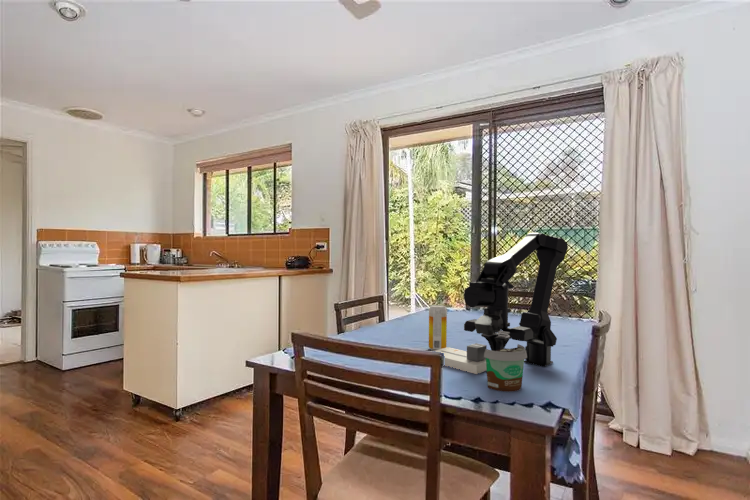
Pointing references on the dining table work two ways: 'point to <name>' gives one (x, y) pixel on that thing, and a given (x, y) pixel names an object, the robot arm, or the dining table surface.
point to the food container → (505, 368)
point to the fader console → (462, 360)
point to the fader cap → (476, 352)
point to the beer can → (437, 327)
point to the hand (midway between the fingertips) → (496, 359)
